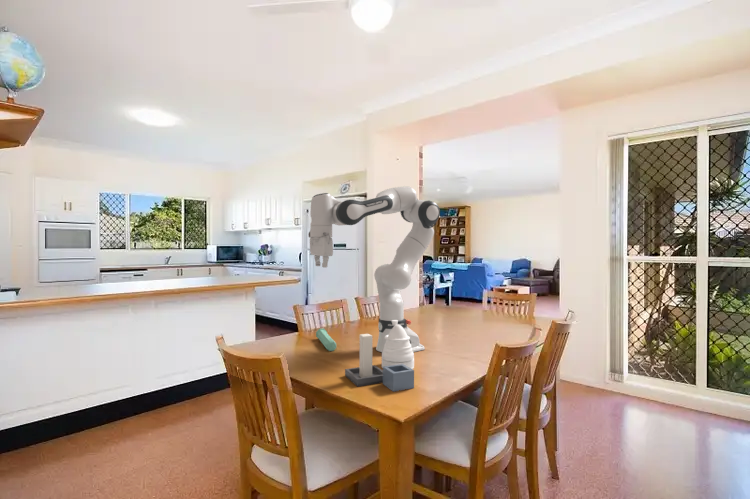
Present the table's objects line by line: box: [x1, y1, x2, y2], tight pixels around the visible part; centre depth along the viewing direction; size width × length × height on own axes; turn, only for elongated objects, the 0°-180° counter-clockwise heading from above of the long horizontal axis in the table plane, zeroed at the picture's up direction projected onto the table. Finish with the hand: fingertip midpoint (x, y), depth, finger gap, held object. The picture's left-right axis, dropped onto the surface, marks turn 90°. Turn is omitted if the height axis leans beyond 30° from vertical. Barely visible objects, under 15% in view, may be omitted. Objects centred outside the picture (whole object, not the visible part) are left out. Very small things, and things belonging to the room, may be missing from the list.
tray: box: [344, 364, 383, 388], centre depth 143 cm, size 12×12×2 cm
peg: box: [358, 333, 373, 378], centre depth 142 cm, size 4×4×15 cm
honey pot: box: [381, 320, 415, 370], centre depth 157 cm, size 13×13×18 cm
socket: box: [382, 364, 415, 392], centre depth 135 cm, size 8×8×6 cm
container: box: [315, 327, 337, 352], centre depth 190 cm, size 6×6×25 cm
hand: (321, 266), depth 162 cm, fingers open, 8 cm apart
